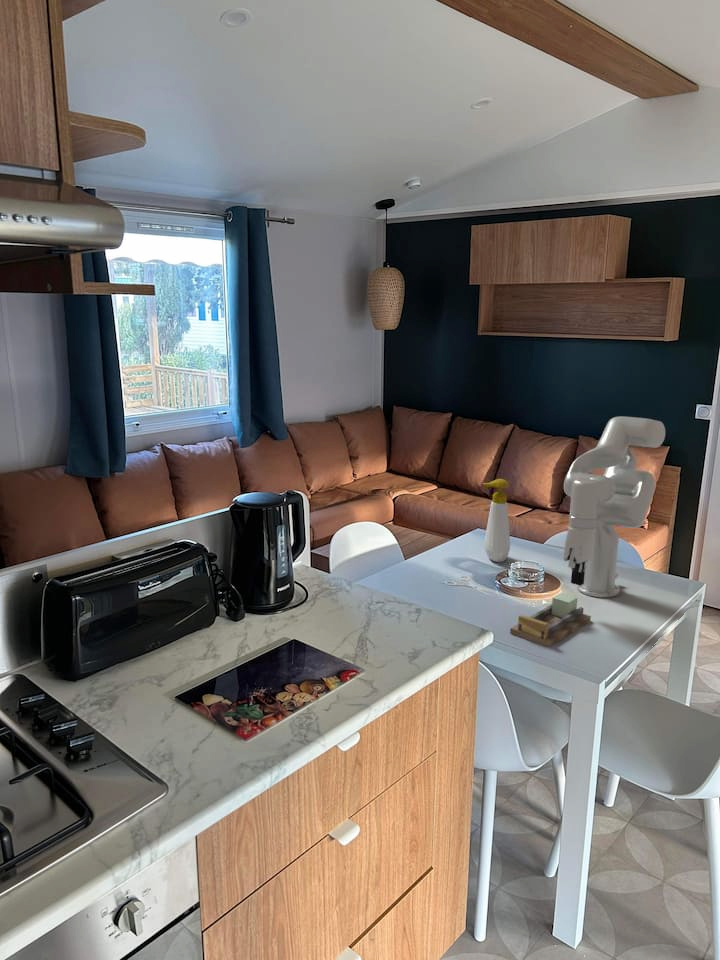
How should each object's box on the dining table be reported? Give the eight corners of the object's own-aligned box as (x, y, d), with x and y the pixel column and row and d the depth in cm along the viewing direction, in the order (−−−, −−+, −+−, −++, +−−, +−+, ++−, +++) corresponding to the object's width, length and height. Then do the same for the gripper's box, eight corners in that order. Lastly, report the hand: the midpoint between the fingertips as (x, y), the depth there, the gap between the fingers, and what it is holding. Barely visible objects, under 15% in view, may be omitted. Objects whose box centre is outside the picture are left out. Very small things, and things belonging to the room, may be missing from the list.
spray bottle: (474, 553, 266) (477, 475, 260) (502, 552, 268) (506, 474, 261) (484, 566, 254) (488, 483, 247) (513, 565, 255) (518, 483, 248)
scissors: (459, 574, 245) (509, 590, 231) (459, 576, 246) (509, 592, 231) (438, 581, 238) (488, 599, 224) (438, 584, 239) (487, 601, 224)
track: (552, 609, 218) (553, 591, 217) (590, 621, 210) (591, 602, 209) (510, 633, 202) (511, 614, 200) (549, 647, 194) (551, 627, 192)
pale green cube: (560, 609, 214) (561, 592, 213) (576, 614, 211) (577, 597, 209) (551, 614, 210) (552, 597, 209) (567, 619, 207) (568, 602, 206)
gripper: (582, 515, 218) (577, 574, 221) (557, 524, 207) (552, 586, 211) (606, 520, 213) (601, 581, 216) (582, 529, 202) (577, 593, 206)
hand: (577, 583), depth 213 cm, fingers closed
